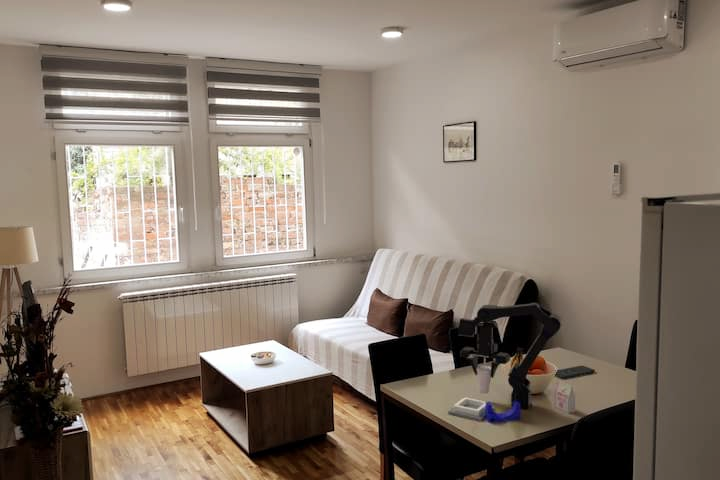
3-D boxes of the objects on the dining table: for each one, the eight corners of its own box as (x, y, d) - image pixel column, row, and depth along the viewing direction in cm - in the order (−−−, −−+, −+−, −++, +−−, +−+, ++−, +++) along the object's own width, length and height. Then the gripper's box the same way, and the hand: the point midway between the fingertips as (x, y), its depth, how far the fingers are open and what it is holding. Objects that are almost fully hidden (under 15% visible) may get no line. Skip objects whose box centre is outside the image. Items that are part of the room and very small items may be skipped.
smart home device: (548, 371, 266) (582, 364, 275) (548, 375, 266) (581, 368, 275) (562, 376, 259) (596, 370, 267) (562, 380, 259) (596, 373, 267)
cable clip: (488, 422, 215) (488, 406, 214) (485, 417, 219) (485, 402, 218) (521, 422, 215) (521, 406, 214) (517, 417, 220) (517, 401, 219)
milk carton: (561, 405, 230) (562, 380, 228) (574, 411, 224) (575, 386, 222) (554, 407, 228) (555, 382, 227) (567, 413, 222) (568, 387, 221)
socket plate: (494, 409, 226) (494, 402, 226) (480, 421, 215) (481, 413, 215) (462, 402, 233) (462, 395, 233) (448, 413, 222) (448, 406, 222)
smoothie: (492, 389, 237) (493, 355, 235) (491, 395, 231) (492, 360, 229) (476, 388, 239) (477, 354, 237) (474, 393, 233) (475, 359, 231)
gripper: (515, 336, 234) (514, 374, 236) (470, 330, 244) (470, 366, 246) (505, 343, 225) (504, 383, 226) (459, 336, 235) (459, 374, 237)
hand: (484, 376), depth 234 cm, fingers closed on smoothie, 6 cm apart
